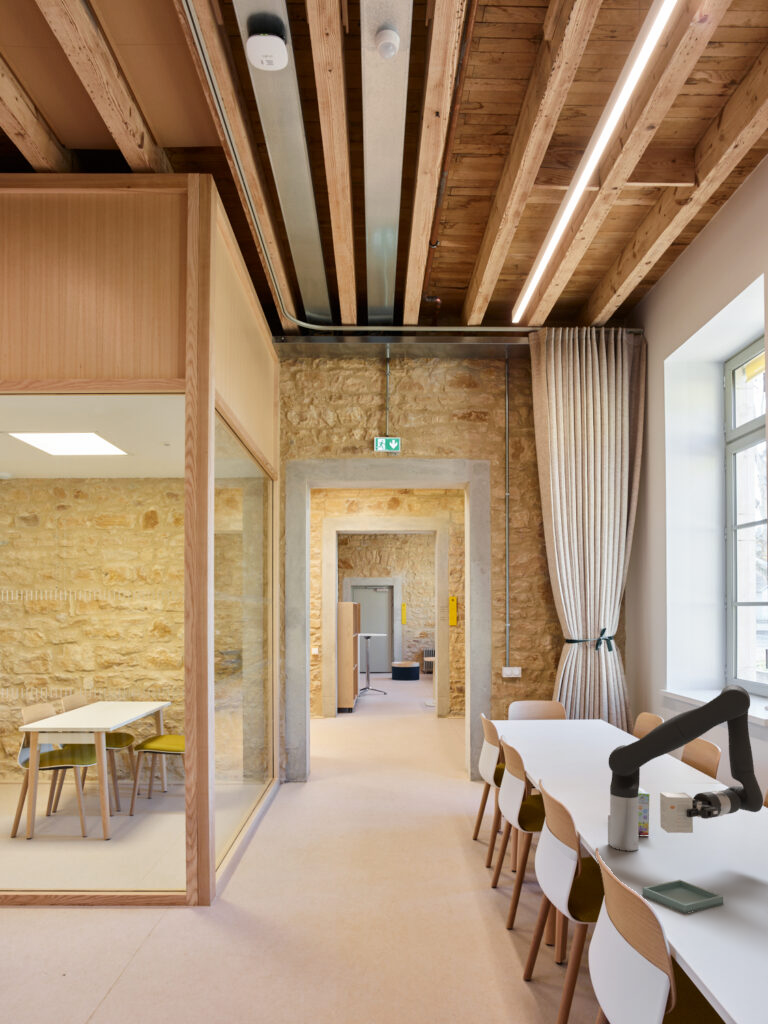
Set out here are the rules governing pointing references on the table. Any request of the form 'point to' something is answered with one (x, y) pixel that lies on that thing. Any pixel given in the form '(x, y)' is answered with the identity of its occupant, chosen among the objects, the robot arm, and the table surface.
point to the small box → (675, 812)
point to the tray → (683, 896)
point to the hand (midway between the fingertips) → (676, 810)
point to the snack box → (643, 812)
